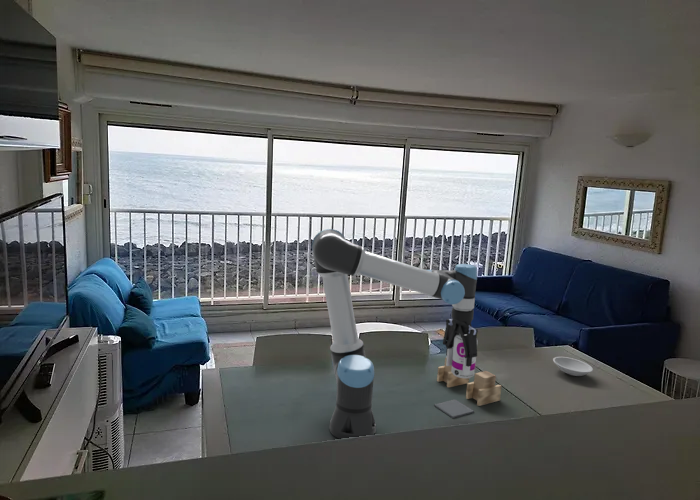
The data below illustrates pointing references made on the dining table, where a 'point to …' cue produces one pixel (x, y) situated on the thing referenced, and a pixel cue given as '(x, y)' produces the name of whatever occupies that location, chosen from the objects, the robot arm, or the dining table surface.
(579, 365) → the dish
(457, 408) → the mat
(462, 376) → the supplement can
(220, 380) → the dining table surface
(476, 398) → the rack
